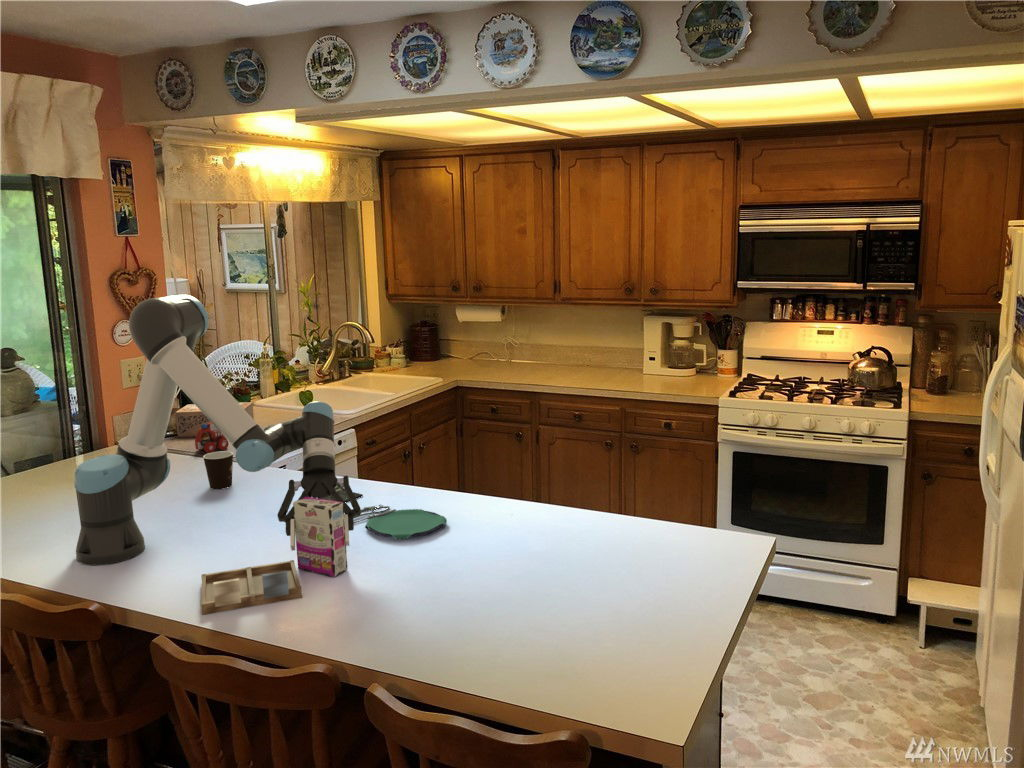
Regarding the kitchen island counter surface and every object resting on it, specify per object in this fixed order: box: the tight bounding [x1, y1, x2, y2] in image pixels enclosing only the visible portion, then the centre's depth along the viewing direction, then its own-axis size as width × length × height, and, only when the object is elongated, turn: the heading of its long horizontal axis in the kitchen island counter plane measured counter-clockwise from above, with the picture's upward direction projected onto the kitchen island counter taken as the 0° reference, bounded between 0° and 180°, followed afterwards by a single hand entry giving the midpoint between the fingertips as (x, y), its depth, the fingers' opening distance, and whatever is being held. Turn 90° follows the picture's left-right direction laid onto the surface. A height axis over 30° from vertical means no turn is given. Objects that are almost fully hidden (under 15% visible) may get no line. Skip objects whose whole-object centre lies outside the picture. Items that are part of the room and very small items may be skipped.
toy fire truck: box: [194, 422, 230, 454], centre depth 290 cm, size 7×12×10 cm, turn 141°
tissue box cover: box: [174, 401, 255, 438], centre depth 318 cm, size 26×14×10 cm, turn 94°
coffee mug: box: [202, 450, 234, 490], centre depth 248 cm, size 12×9×10 cm
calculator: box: [318, 484, 363, 503], centre depth 235 cm, size 9×12×3 cm
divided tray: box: [200, 559, 303, 616], centre depth 174 cm, size 20×16×6 cm
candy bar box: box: [292, 497, 349, 578], centre depth 183 cm, size 11×5×16 cm, turn 62°
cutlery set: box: [344, 504, 447, 540], centre depth 213 cm, size 20×30×2 cm, turn 46°
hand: (320, 545), depth 180 cm, fingers closed on candy bar box, 11 cm apart
